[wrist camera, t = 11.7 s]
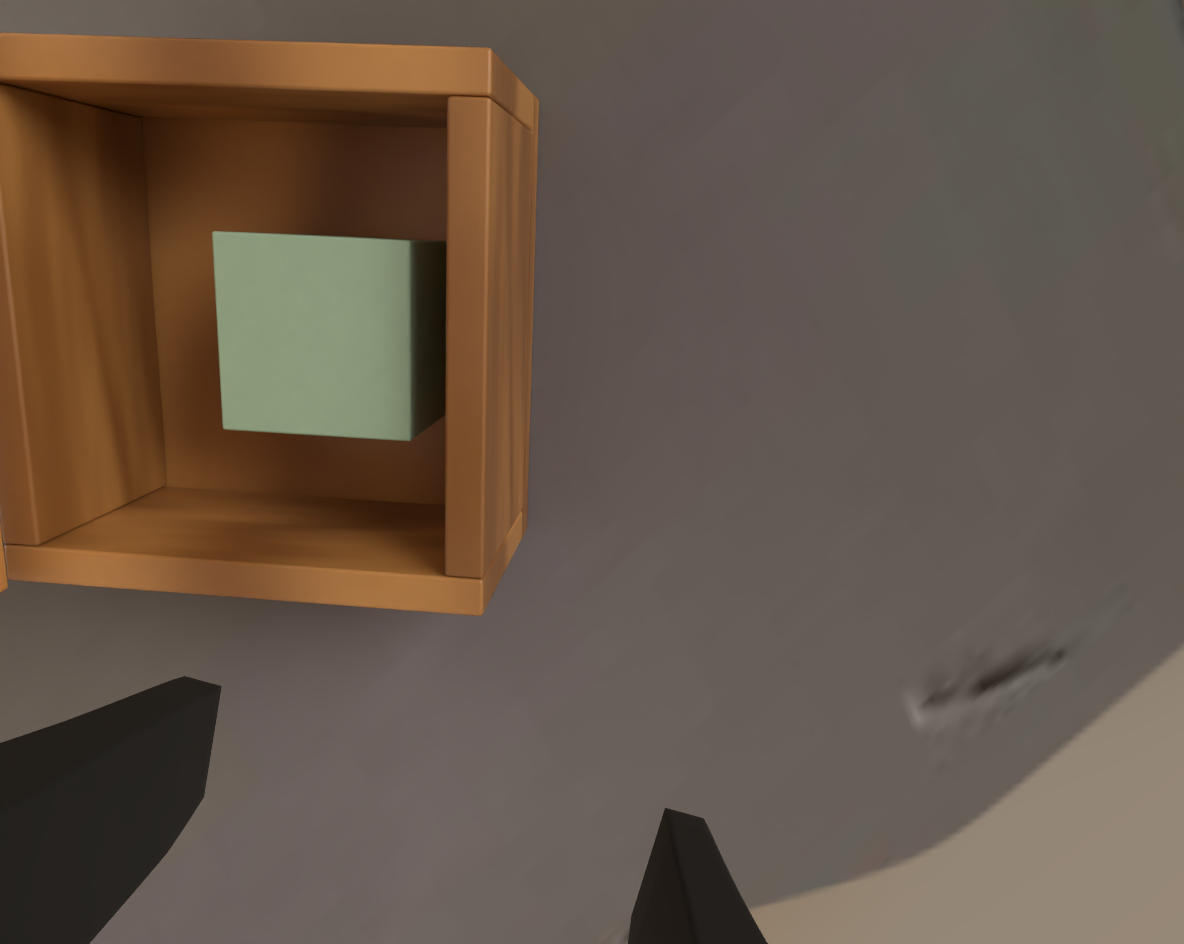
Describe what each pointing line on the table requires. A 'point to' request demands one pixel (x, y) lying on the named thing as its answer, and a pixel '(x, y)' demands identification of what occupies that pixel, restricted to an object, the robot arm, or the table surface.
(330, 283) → the sage block
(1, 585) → the case lid
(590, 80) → the table surface
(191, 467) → the case
